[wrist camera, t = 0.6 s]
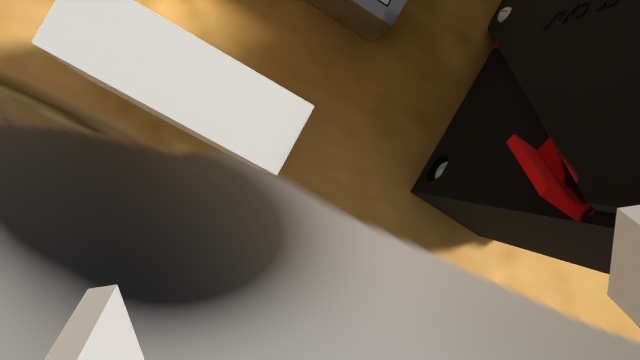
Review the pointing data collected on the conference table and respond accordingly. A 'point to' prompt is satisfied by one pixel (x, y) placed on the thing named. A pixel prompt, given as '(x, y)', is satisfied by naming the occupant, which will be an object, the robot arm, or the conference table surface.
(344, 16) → the rack
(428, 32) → the conference table surface
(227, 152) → the white rectangular block
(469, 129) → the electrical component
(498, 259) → the conference table surface
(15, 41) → the conference table surface
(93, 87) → the conference table surface
